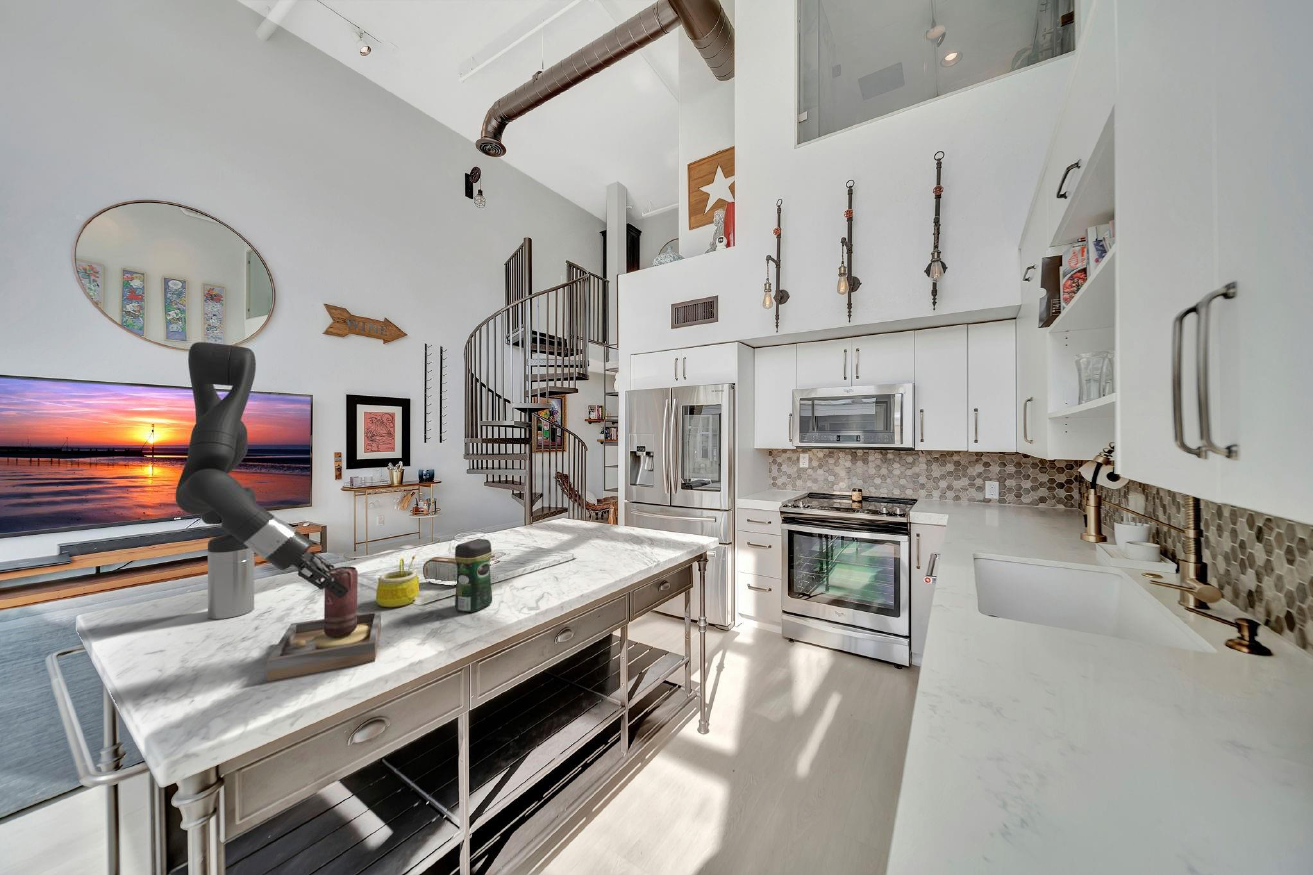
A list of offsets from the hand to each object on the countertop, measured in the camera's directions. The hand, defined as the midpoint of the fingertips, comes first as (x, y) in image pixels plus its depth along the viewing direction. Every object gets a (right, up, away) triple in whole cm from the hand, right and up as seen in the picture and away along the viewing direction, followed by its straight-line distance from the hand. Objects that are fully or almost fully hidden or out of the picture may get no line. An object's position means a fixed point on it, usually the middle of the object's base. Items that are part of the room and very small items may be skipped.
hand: (345, 589), depth 106 cm
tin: (+3, -13, +44) cm, 46 cm away
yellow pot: (-3, -13, +29) cm, 32 cm away
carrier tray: (-2, -13, -2) cm, 13 cm away
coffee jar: (+19, -13, +25) cm, 34 cm away
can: (-1, -9, 0) cm, 9 cm away
